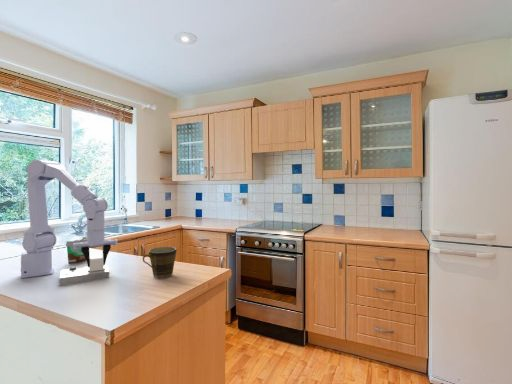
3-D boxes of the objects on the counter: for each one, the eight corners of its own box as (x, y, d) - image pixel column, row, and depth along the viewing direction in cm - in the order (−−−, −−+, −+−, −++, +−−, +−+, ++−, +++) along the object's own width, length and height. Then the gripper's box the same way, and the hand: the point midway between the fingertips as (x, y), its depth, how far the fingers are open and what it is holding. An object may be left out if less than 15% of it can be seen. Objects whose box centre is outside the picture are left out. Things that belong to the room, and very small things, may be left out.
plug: (90, 276, 105) (89, 259, 104) (89, 272, 109) (89, 256, 109) (103, 274, 107) (103, 257, 107) (102, 270, 112) (102, 254, 112)
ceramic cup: (167, 270, 114) (166, 245, 114) (182, 275, 108) (182, 249, 108) (136, 278, 104) (135, 251, 104) (150, 284, 98) (150, 255, 98)
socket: (59, 285, 97) (59, 276, 97) (61, 276, 107) (61, 268, 107) (109, 278, 105) (108, 269, 105) (106, 270, 115) (106, 262, 115)
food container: (80, 264, 124) (79, 241, 124) (66, 264, 125) (65, 241, 124) (96, 257, 137) (96, 236, 137) (83, 257, 137) (83, 236, 137)
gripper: (72, 233, 100) (73, 271, 101) (118, 229, 108) (118, 265, 108) (73, 230, 106) (73, 266, 107) (116, 227, 114) (116, 261, 114)
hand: (96, 265), depth 108 cm, fingers closed on plug, 4 cm apart
